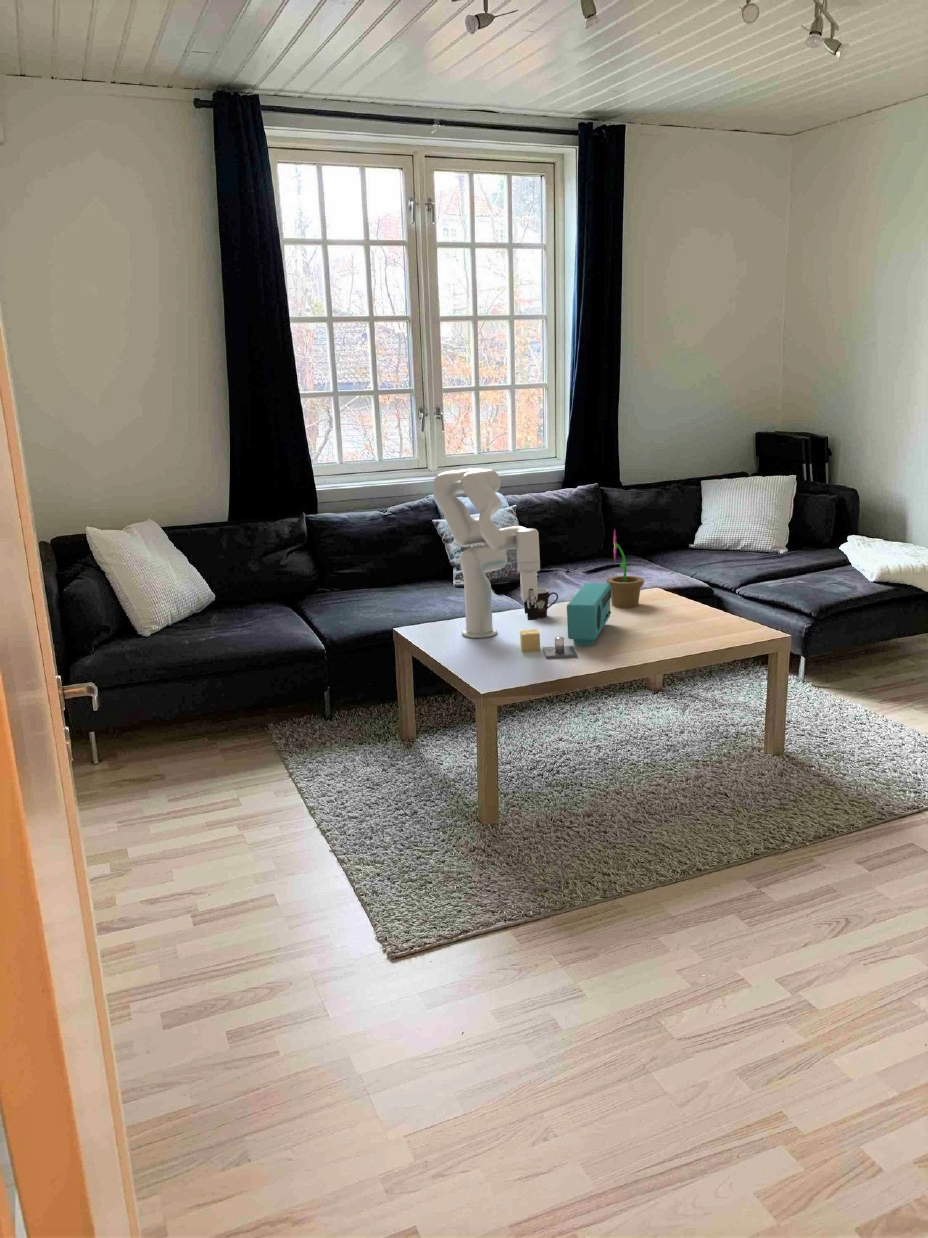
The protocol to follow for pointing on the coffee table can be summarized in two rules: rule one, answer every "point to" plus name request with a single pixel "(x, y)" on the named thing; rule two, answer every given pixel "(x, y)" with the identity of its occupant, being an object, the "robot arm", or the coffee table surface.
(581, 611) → the radio
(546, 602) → the coffee mug
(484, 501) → the robot arm
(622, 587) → the flowerpot
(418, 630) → the coffee table surface
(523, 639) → the pale yellow cube
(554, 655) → the stud plate
